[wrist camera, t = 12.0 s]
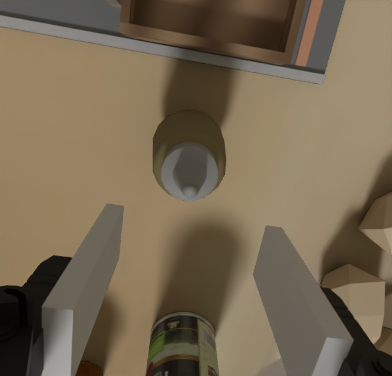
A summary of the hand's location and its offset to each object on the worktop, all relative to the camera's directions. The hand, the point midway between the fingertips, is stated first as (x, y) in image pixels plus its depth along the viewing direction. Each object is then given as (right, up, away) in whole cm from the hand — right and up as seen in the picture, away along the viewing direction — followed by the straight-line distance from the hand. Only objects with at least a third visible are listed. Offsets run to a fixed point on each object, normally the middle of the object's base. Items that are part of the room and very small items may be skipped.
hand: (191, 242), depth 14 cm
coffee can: (-2, -21, +34) cm, 40 cm away
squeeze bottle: (-1, +8, +24) cm, 25 cm away
